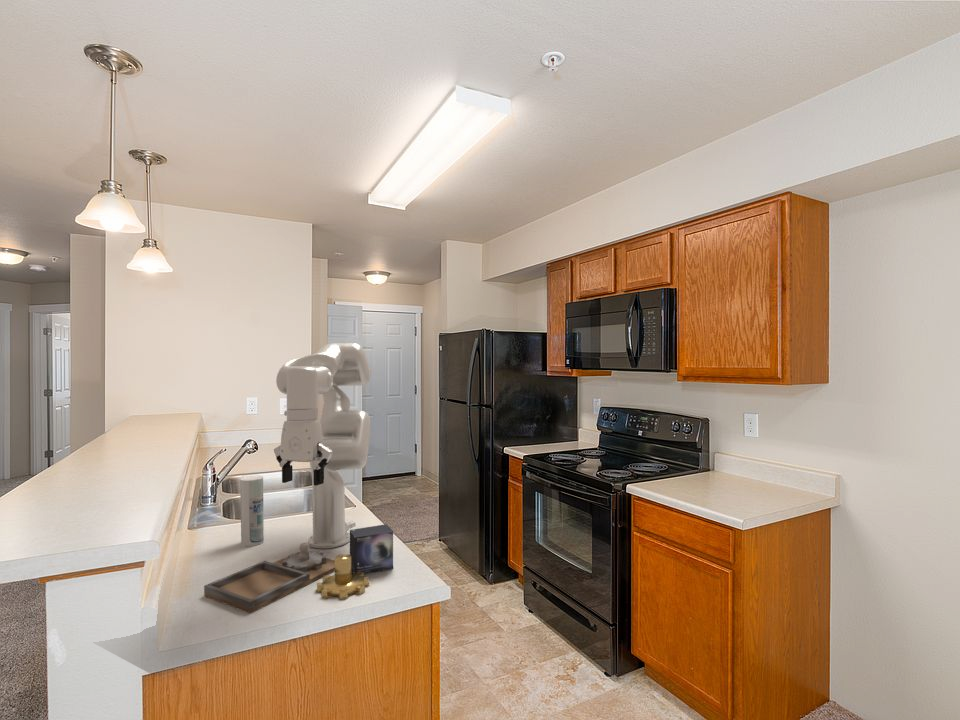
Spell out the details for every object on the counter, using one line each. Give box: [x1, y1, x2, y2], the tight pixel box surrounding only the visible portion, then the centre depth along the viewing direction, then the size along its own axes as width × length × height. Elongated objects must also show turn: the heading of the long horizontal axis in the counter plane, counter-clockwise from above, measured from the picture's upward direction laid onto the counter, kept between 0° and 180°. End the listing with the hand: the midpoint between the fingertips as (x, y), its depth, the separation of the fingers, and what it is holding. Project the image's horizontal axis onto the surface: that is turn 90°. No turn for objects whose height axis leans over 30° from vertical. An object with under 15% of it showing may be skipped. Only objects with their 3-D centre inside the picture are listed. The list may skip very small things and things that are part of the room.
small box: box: [349, 523, 394, 575], centre depth 140 cm, size 11×6×10 cm, turn 117°
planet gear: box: [316, 553, 370, 600], centre depth 128 cm, size 12×12×8 cm
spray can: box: [239, 475, 265, 547], centre depth 159 cm, size 6×6×20 cm
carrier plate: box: [203, 542, 335, 614], centre depth 133 cm, size 29×17×6 cm, turn 150°
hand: (302, 483), depth 132 cm, fingers open, 9 cm apart
